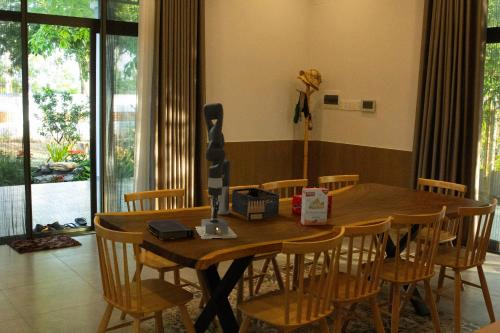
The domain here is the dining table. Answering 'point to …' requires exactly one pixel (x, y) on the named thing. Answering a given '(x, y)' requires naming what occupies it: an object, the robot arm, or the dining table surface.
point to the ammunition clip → (256, 211)
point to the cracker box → (314, 206)
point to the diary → (170, 229)
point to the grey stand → (215, 229)
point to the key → (212, 215)
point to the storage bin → (254, 196)
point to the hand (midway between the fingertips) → (214, 217)
